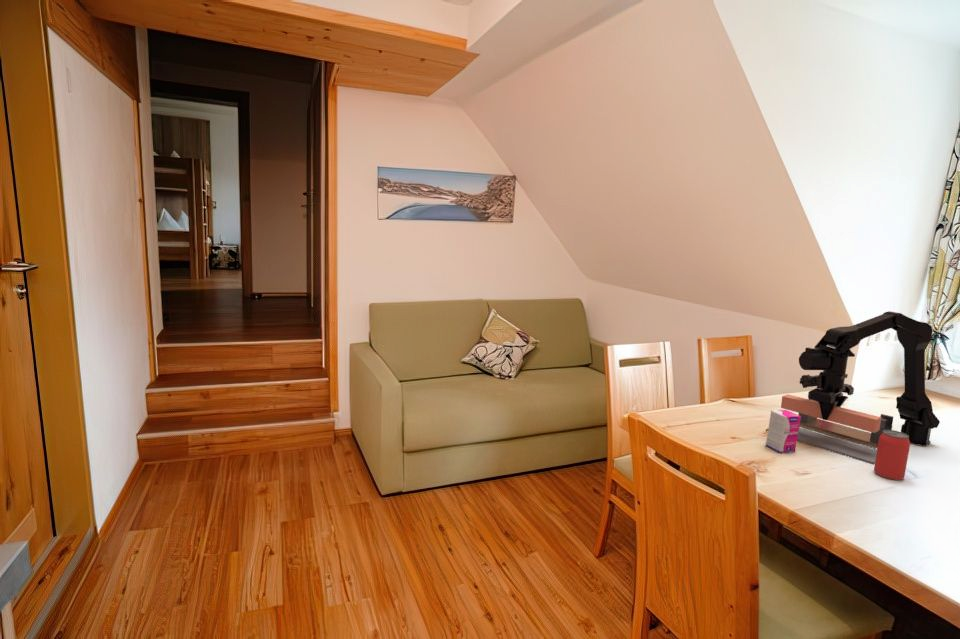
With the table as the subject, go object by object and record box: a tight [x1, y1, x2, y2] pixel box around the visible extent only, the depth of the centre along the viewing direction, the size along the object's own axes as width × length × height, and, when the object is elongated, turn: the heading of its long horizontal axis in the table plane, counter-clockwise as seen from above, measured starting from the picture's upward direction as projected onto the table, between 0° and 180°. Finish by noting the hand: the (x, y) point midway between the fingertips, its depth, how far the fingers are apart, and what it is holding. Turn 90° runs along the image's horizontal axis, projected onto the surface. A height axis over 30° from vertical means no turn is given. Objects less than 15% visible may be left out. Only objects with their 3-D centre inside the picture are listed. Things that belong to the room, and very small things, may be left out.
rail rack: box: [797, 397, 894, 449], centre depth 173 cm, size 28×10×9 cm, turn 37°
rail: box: [780, 393, 881, 433], centre depth 164 cm, size 26×4×4 cm, turn 37°
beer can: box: [873, 429, 911, 481], centre depth 142 cm, size 7×7×12 cm
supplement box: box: [765, 409, 801, 454], centre depth 158 cm, size 6×6×12 cm
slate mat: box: [765, 427, 877, 465], centre depth 165 cm, size 30×12×1 cm, turn 37°
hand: (827, 418), depth 164 cm, fingers closed on rail, 4 cm apart
